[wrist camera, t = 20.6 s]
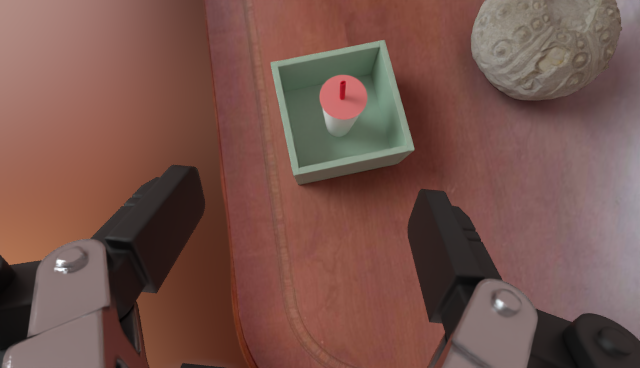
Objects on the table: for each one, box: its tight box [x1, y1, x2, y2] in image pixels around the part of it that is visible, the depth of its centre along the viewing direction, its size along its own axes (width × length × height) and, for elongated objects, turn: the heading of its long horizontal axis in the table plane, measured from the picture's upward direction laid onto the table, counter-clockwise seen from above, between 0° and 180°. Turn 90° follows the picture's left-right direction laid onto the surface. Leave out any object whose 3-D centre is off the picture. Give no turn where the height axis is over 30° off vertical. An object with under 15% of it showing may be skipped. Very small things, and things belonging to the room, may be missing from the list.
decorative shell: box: [471, 0, 622, 101], centre depth 38 cm, size 18×18×10 cm
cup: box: [320, 75, 367, 137], centre depth 35 cm, size 5×5×12 cm
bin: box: [271, 40, 415, 185], centre depth 38 cm, size 15×15×7 cm
